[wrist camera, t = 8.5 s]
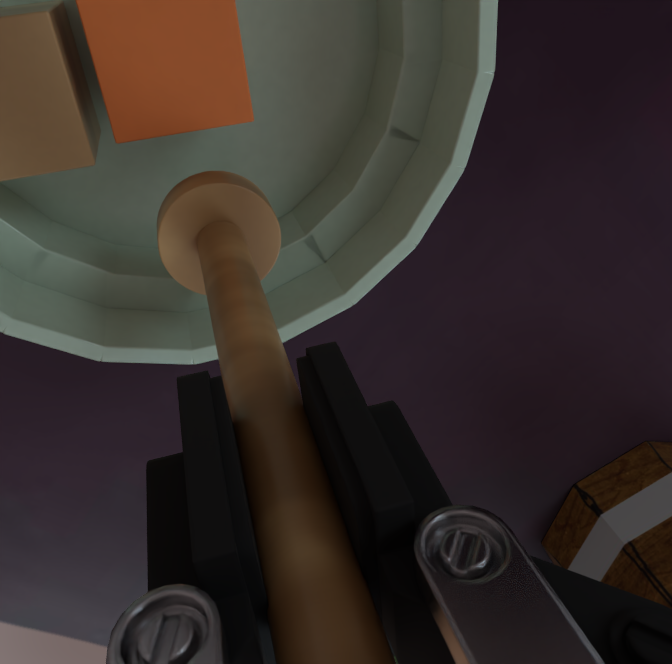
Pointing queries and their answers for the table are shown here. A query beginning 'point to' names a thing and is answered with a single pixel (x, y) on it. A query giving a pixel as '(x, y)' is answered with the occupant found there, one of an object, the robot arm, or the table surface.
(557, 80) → the table surface
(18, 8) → the maple block
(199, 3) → the orange block
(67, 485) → the table surface
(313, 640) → the stirrer
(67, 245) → the stir bowl
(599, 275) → the table surface
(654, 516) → the mug
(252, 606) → the robot arm
